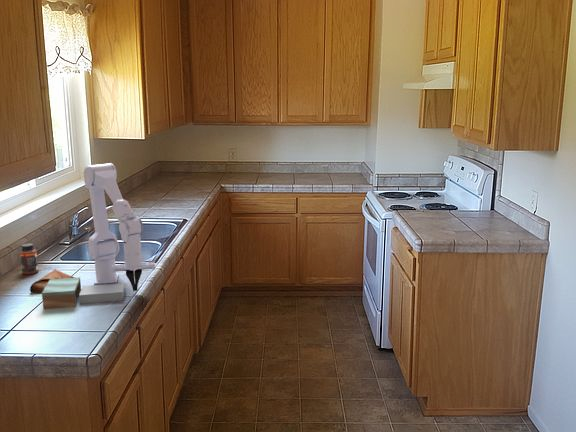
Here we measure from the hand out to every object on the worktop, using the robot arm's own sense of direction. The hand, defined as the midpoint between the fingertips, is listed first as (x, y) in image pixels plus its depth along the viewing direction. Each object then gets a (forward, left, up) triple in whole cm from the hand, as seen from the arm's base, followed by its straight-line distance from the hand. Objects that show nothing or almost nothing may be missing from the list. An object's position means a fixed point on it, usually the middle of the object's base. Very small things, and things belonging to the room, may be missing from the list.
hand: (135, 290), depth 193 cm
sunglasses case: (-17, -30, -2) cm, 35 cm away
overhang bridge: (0, -24, -2) cm, 24 cm away
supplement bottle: (-33, -41, -2) cm, 53 cm away
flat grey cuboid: (0, -11, -2) cm, 11 cm away
